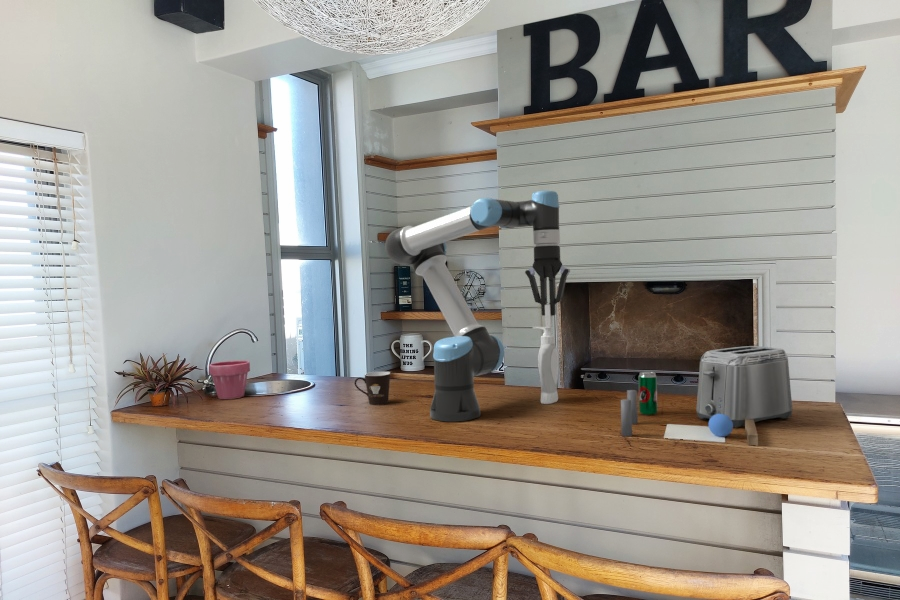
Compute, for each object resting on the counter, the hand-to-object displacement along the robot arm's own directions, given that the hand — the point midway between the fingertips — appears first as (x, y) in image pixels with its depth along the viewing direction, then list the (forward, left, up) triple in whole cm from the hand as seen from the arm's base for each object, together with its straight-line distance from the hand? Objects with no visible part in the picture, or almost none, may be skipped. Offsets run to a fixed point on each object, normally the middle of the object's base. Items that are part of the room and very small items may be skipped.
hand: (549, 326), depth 178 cm
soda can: (+26, +11, -27) cm, 39 cm away
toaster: (+52, +12, -27) cm, 60 cm away
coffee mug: (-62, +5, -27) cm, 68 cm away
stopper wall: (+52, -8, -26) cm, 59 cm away
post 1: (+23, -14, -26) cm, 38 cm away
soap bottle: (-7, +21, -27) cm, 35 cm away
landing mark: (+39, -8, -26) cm, 48 cm away
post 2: (+23, -2, -26) cm, 35 cm away
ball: (+45, -9, -24) cm, 52 cm away
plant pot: (-121, +1, -27) cm, 124 cm away
